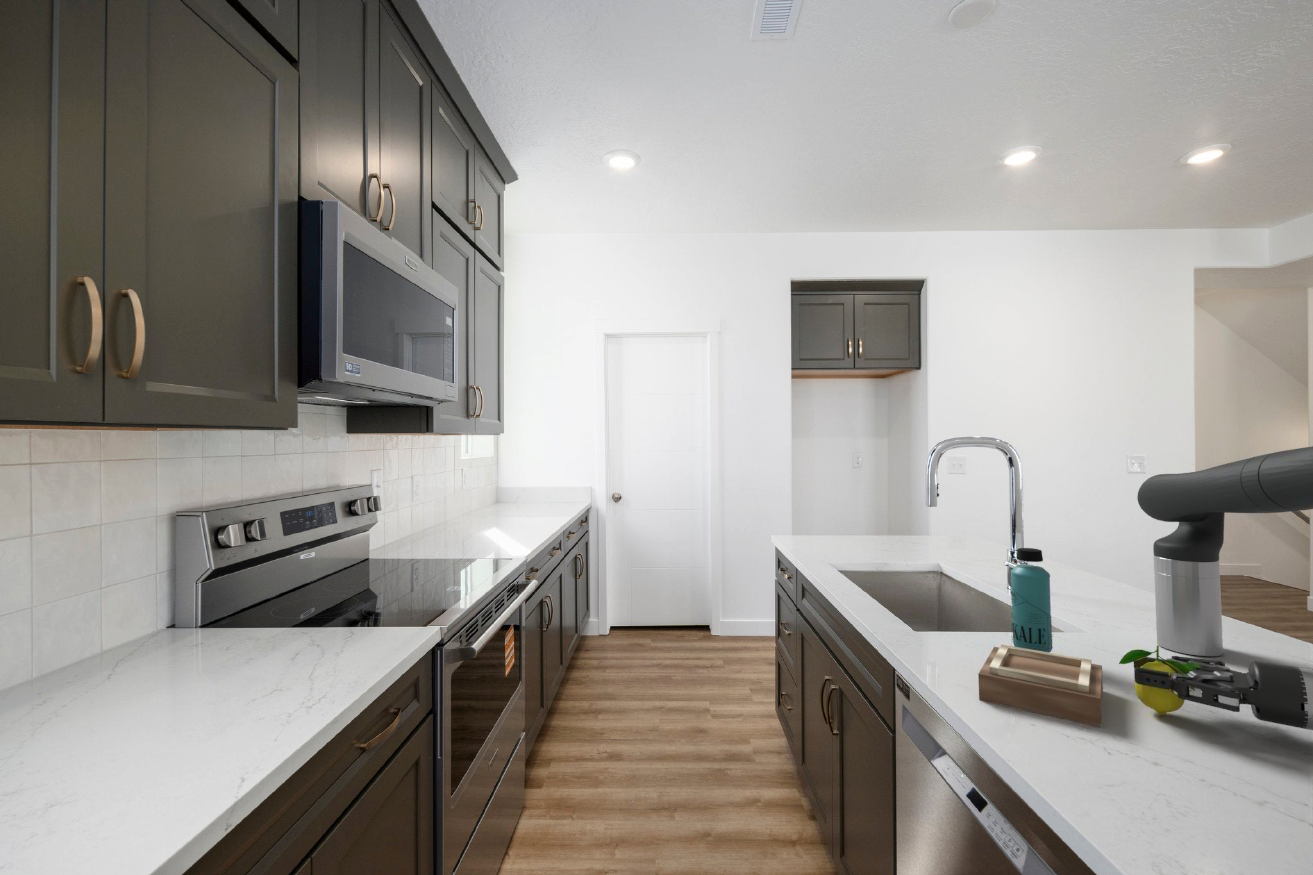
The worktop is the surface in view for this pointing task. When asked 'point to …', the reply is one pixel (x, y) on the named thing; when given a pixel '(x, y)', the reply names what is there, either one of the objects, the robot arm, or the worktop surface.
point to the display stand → (1043, 683)
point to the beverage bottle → (1031, 603)
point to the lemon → (1155, 696)
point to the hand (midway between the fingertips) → (1134, 668)
